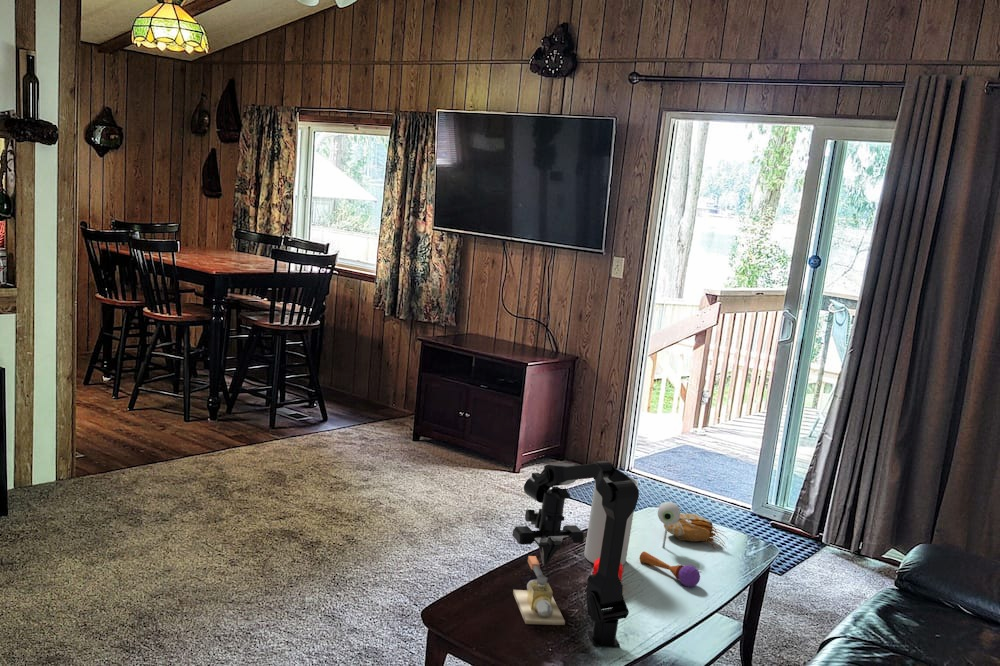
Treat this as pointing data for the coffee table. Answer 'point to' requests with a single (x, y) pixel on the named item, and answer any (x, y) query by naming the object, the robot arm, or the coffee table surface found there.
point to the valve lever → (537, 569)
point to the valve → (540, 598)
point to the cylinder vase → (602, 528)
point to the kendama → (674, 570)
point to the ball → (598, 566)
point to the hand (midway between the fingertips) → (544, 564)
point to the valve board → (531, 615)
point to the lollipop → (668, 515)
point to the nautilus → (694, 529)
